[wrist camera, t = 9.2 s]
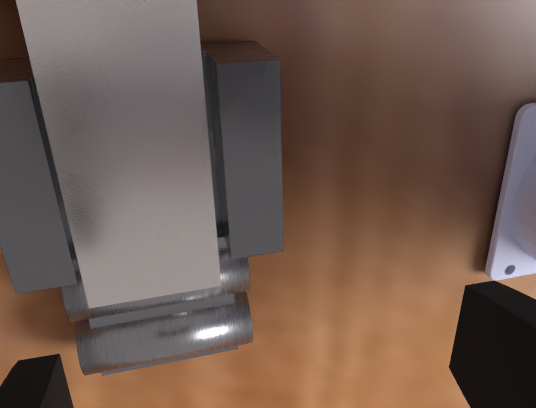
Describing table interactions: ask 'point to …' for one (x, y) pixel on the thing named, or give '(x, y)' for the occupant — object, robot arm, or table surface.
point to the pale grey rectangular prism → (128, 141)
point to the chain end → (225, 202)
